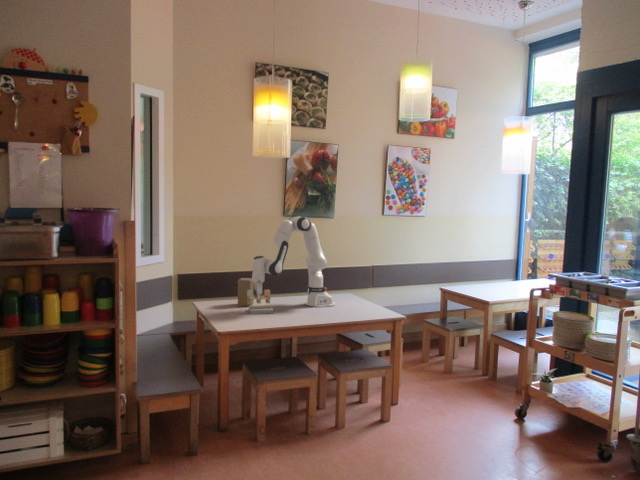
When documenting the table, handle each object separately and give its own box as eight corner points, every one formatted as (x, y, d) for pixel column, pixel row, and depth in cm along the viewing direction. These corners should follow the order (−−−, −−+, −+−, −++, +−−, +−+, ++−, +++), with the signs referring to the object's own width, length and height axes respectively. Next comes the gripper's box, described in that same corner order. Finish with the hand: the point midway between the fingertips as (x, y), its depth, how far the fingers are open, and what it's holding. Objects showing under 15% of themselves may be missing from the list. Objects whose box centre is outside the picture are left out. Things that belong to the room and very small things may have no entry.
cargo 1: (252, 295, 350) (252, 289, 350) (253, 296, 346) (253, 290, 346) (247, 295, 349) (247, 289, 349) (247, 296, 345) (247, 290, 345)
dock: (270, 309, 358) (270, 305, 358) (273, 313, 346) (273, 309, 346) (248, 310, 354) (248, 305, 354) (250, 314, 343) (250, 309, 342)
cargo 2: (269, 295, 353) (269, 289, 353) (270, 296, 349) (270, 290, 349) (263, 295, 352) (264, 289, 352) (264, 296, 348) (264, 290, 348)
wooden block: (253, 303, 375) (253, 278, 373) (250, 306, 365) (250, 280, 363) (240, 303, 376) (241, 277, 374) (237, 306, 366) (237, 279, 364)
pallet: (269, 301, 354) (269, 294, 353) (270, 303, 348) (270, 296, 348) (246, 301, 350) (247, 295, 350) (247, 303, 345) (247, 296, 344)
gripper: (264, 281, 338) (264, 300, 340) (261, 276, 358) (260, 295, 359) (255, 281, 337) (255, 301, 338) (252, 276, 357) (252, 295, 358)
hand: (258, 298), depth 349 cm, fingers closed on pallet, 5 cm apart
